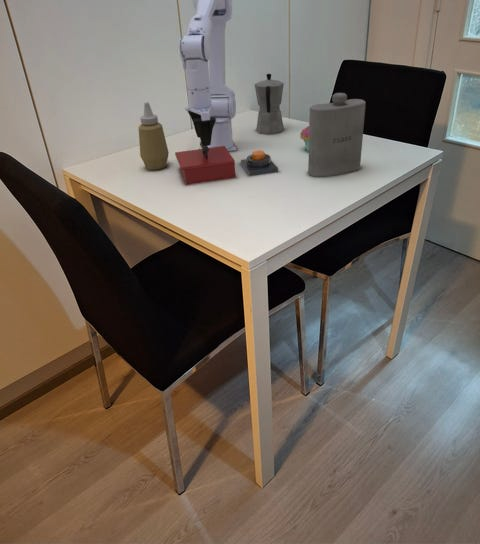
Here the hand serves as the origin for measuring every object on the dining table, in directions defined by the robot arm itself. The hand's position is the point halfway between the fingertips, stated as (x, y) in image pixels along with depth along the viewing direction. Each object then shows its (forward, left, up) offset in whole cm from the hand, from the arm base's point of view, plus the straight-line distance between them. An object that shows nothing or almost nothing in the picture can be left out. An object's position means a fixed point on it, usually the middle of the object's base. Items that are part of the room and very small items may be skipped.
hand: (203, 141), depth 129 cm
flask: (+11, +33, -9) cm, 36 cm away
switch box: (+1, +15, -9) cm, 17 cm away
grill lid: (0, 0, -5) cm, 5 cm away
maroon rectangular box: (0, 0, -9) cm, 9 cm away
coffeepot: (-30, +27, -9) cm, 41 cm away
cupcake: (-7, +34, -9) cm, 36 cm away
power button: (+1, +15, -6) cm, 16 cm away
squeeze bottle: (-11, -13, -9) cm, 19 cm away
